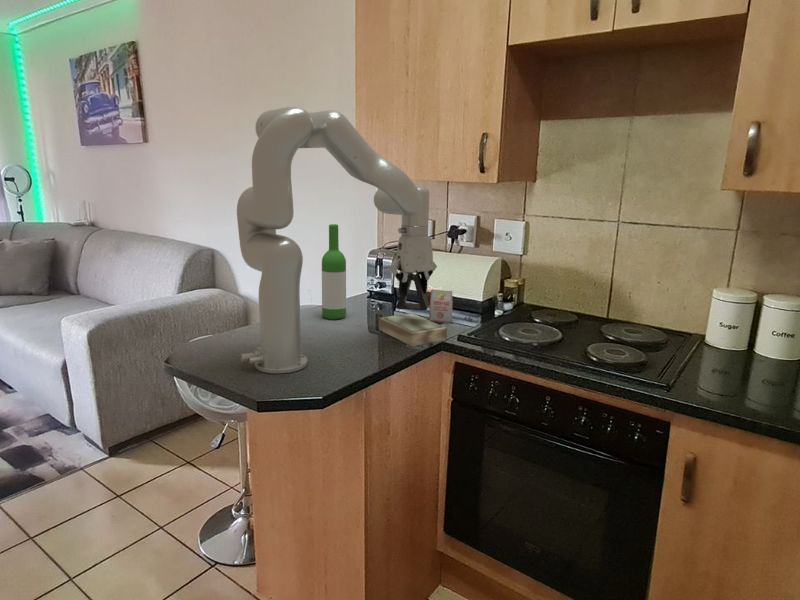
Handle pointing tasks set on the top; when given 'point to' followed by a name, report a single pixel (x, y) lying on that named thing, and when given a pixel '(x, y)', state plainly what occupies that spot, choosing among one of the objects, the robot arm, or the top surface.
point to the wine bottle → (333, 278)
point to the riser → (412, 329)
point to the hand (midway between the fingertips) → (413, 293)
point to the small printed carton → (440, 306)
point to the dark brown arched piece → (420, 292)
